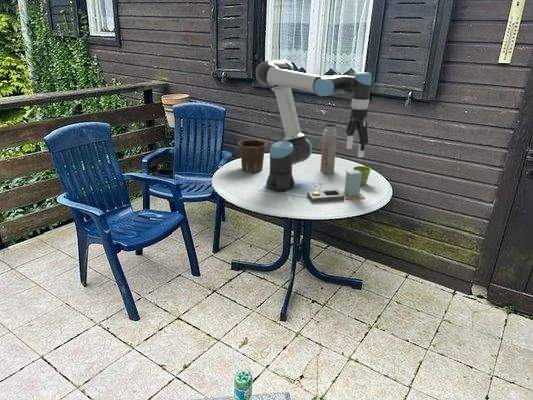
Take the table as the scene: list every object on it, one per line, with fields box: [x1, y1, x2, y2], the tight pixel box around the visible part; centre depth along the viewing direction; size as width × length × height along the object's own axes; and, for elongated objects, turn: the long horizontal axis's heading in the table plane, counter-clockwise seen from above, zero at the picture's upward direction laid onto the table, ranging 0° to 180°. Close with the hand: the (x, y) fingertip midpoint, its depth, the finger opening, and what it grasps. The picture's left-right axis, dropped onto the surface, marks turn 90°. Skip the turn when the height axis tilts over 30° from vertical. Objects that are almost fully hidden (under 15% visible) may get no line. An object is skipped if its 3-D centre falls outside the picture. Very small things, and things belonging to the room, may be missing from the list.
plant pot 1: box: [238, 139, 268, 174], centre depth 231 cm, size 16×16×16 cm
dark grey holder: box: [306, 188, 345, 203], centre depth 194 cm, size 9×16×4 cm, turn 101°
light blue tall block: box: [343, 169, 362, 197], centre depth 195 cm, size 4×6×12 cm
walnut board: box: [339, 190, 366, 201], centre depth 197 cm, size 10×10×1 cm
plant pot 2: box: [352, 165, 372, 186], centre depth 213 cm, size 9×9×9 cm
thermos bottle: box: [319, 123, 338, 174], centre depth 228 cm, size 8×8×28 cm
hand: (354, 152), depth 189 cm, fingers open, 13 cm apart
